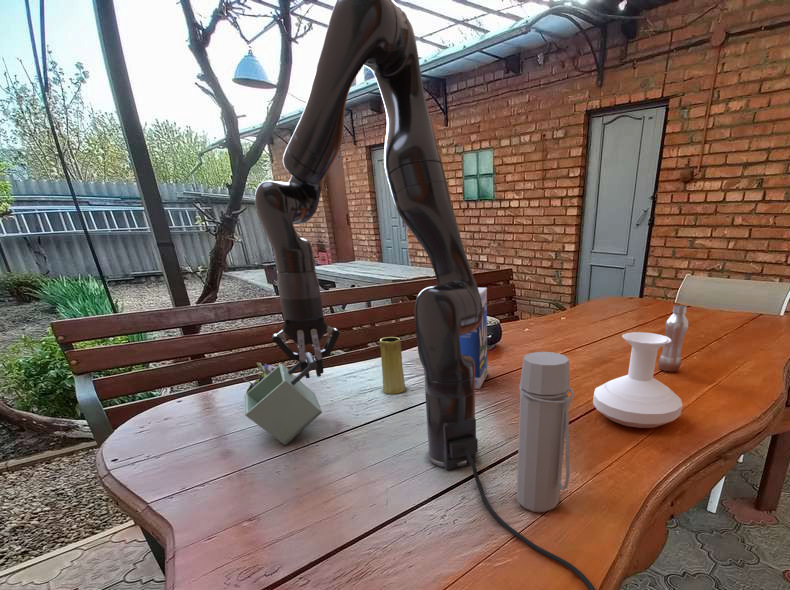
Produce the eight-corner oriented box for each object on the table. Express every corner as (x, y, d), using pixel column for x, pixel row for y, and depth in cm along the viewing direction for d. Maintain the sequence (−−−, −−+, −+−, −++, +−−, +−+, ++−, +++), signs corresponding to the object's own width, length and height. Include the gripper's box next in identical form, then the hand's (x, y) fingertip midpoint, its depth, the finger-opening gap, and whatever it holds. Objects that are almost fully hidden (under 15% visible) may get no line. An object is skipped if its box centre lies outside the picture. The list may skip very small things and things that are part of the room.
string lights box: (480, 389, 117) (479, 294, 107) (453, 388, 118) (450, 293, 108) (487, 373, 129) (487, 287, 119) (463, 372, 130) (461, 286, 120)
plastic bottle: (652, 368, 134) (663, 305, 126) (668, 366, 137) (679, 303, 129) (668, 375, 129) (680, 309, 121) (684, 372, 132) (697, 307, 124)
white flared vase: (605, 394, 114) (613, 323, 107) (684, 410, 105) (700, 334, 97) (579, 422, 98) (587, 341, 91) (670, 444, 89) (688, 356, 81)
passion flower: (291, 413, 115) (299, 385, 107) (246, 416, 108) (251, 387, 101) (284, 380, 120) (290, 352, 112) (240, 381, 113) (244, 351, 106)
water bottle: (505, 501, 71) (508, 358, 61) (535, 482, 76) (543, 347, 66) (549, 528, 65) (560, 373, 55) (578, 505, 70) (594, 360, 60)
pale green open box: (345, 392, 90) (310, 359, 84) (285, 445, 88) (244, 415, 82) (335, 375, 100) (303, 344, 94) (281, 422, 98) (244, 394, 92)
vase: (408, 386, 119) (404, 336, 113) (402, 394, 114) (397, 342, 108) (387, 385, 120) (382, 336, 114) (380, 393, 114) (374, 342, 108)
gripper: (262, 299, 79) (279, 387, 85) (339, 295, 85) (349, 376, 91) (261, 293, 85) (277, 375, 91) (332, 289, 91) (342, 366, 97)
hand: (313, 376), depth 91 cm, fingers closed on pale green open box
